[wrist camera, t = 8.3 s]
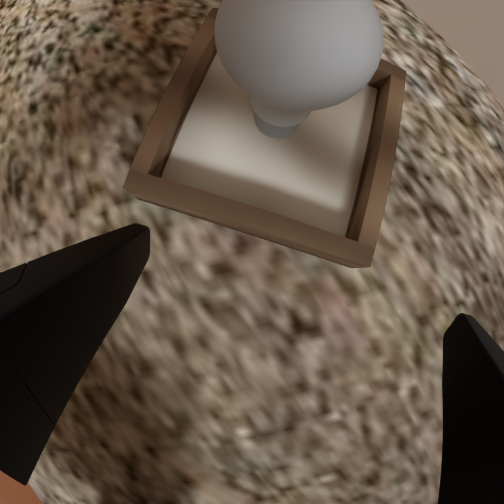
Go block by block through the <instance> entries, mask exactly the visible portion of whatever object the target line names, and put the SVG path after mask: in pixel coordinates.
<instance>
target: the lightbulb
mask: <svg viewBox="0 0 504 504" xmlns="http://www.w3.org/2000/svg"><path fill="white" fill-rule="evenodd" d="M214 36H215V44H216V49H217V53H218V55H219V57H220V60H221V62H222V64H223V66H224V67H225V69H226V71H227V73H228V74H229V76H230V77H231V78H232V79H233V80H234V81H235V82H236V84H238V85H239V86H240V87H241V88H242V89H243V90H244V91H246V92H247V93H248V94H249V95H250V102H251V106H252V108H253V110H254V121H255V124H256V126H257V128H258V129H259V131H260V132H262V133H263V134H264V135H266V136H268V137H271V138H285V137H288V136H290V135H292V134H293V133H294V132H295V131H296V130H297V128H298V127H299V125H300V123H301V122H303V121H304V120H305V119H306V118H307V117H308V116H309V115H310V113H311V112H312V111H316V110H320V109H325V108H328V107H332V106H335V105H338V104H340V103H342V102H344V101H346V100H348V99H350V98H351V97H352V96H354V95H355V94H357V93H358V92H359V91H360V90H361V89H362V88H364V87H365V86H366V85H367V84H368V82H369V81H370V79H371V78H372V76H373V75H374V73H375V71H376V70H377V68H378V65H379V62H380V58H381V54H382V50H383V27H382V24H381V21H380V18H379V15H378V12H377V10H376V8H375V6H374V4H373V3H372V1H371V0H223V1H222V2H221V5H220V7H219V10H218V12H217V16H216V20H215V29H214Z"/></svg>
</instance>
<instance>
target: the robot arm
mask: <svg viewBox="0 0 504 504" xmlns="http://www.w3.org/2000/svg"><path fill="white" fill-rule="evenodd" d="M149 255H150V230H149V228H148V227H147V226H144V225H141V224H137V223H134V224H131V225H128V226H125V227H122V228H119V229H116V230H113V231H110V232H108V233H105V234H102V235H99V236H96V237H93V238H90V239H88V240H85V241H82V242H79V243H77V244H74V245H71V246H68V247H66V248H63V249H60V250H58V251H55V252H52V253H50V254H47V255H45V256H42V257H39V258H37V259H34V260H32V261H29V262H28V263H24V264H21V265H19V266H17V267H14V268H12V269H9V270H6V271H4V272H1V273H0V470H1V471H2V472H4V473H5V474H7V475H8V476H10V477H11V478H13V479H15V480H16V481H18V482H20V483H21V484H23V485H26V484H27V483H28V481H29V479H30V476H31V474H32V472H33V470H34V468H35V466H36V464H37V461H38V459H39V457H40V455H41V453H42V451H43V449H44V447H45V445H46V443H47V441H48V439H49V437H50V435H51V433H52V431H53V429H54V427H55V425H56V423H57V421H58V419H59V417H60V415H61V414H62V412H63V410H64V408H65V406H66V404H67V402H68V401H69V399H70V397H71V395H72V393H73V392H74V390H75V388H76V386H77V384H78V383H79V381H80V379H81V377H82V376H83V374H84V372H85V370H86V369H87V367H88V365H89V363H90V362H91V360H92V358H93V357H94V355H95V353H96V352H97V350H98V348H99V347H100V345H101V343H102V342H103V340H104V338H105V337H106V335H107V333H108V332H109V330H110V328H111V327H112V325H113V324H114V322H115V320H116V319H117V317H118V316H119V314H120V312H121V311H122V309H123V308H124V306H125V304H126V303H127V301H128V299H129V297H130V295H131V293H132V291H133V289H134V287H135V285H136V283H137V281H138V279H139V277H140V275H141V273H142V271H143V269H144V267H145V265H146V263H147V261H148V259H149ZM442 398H443V443H442V464H441V478H440V489H439V498H438V504H504V351H503V350H502V349H501V348H500V347H499V345H498V344H497V343H496V342H495V341H494V340H493V339H492V337H491V336H490V335H489V334H488V333H487V332H486V331H485V330H484V328H483V327H482V326H481V325H480V324H479V323H478V322H477V321H476V320H475V319H474V318H473V317H472V316H471V315H468V314H464V313H460V314H459V315H457V317H456V318H455V319H454V321H453V322H452V324H451V325H450V326H449V328H448V329H447V330H446V332H445V334H444V337H443V372H442Z"/></svg>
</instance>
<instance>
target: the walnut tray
mask: <svg viewBox="0 0 504 504" xmlns="http://www.w3.org/2000/svg"><path fill="white" fill-rule="evenodd" d="M218 10H219V9H217V8H212V10H211V11H210V13H209V14H208V16H207V18H206V19H205V21H204V22H203V24H202V26H201V27H200V29H199V31H198V32H197V34H196V36H195V37H194V39H193V41H192V42H191V44H190V46H189V48H188V49H187V51H186V53H185V55H184V57H183V58H182V60H181V62H180V64H179V66H178V67H177V69H176V71H175V73H174V75H173V77H172V79H171V81H170V83H169V85H168V86H167V88H166V90H165V92H164V94H163V96H162V98H161V100H160V103H159V105H158V107H157V109H156V111H155V113H154V115H153V117H152V119H151V121H150V124H149V126H148V128H147V130H146V133H145V135H144V137H143V139H142V142H141V144H140V146H139V149H138V151H137V153H136V156H135V158H134V160H133V163H132V165H131V168H130V170H129V173H128V175H127V178H126V181H125V183H124V186H123V188H124V189H126V190H127V191H128V192H129V193H131V194H132V195H133V196H134V197H136V198H137V199H139V200H142V201H145V202H148V203H152V204H155V205H158V206H161V207H164V208H168V209H171V210H174V211H177V212H180V213H184V214H187V215H190V216H193V217H196V218H199V219H203V220H206V221H209V222H212V223H215V224H218V225H221V226H225V227H228V228H231V229H234V230H237V231H240V232H243V233H246V234H249V235H252V236H256V237H259V238H262V239H265V240H268V241H271V242H274V243H277V244H280V245H283V246H286V247H289V248H292V249H295V250H298V251H301V252H304V253H307V254H310V255H314V256H317V257H320V258H323V259H326V260H329V261H332V262H335V263H338V264H341V265H343V266H346V267H349V268H364V267H370V266H371V262H372V258H373V255H374V251H375V247H376V243H377V239H378V235H379V231H380V226H381V222H382V218H383V213H384V209H385V204H386V200H387V195H388V190H389V185H390V180H391V175H392V169H393V164H394V158H395V153H396V147H397V140H398V134H399V127H400V120H401V113H402V105H403V97H404V88H405V78H406V71H405V70H403V69H401V68H399V67H397V66H395V65H393V64H391V63H389V62H387V61H384V60H382V59H380V62H379V65H378V68H377V70H376V71H375V73H374V75H373V76H372V78H371V79H370V81H369V82H368V84H367V85H366V86H365V87H364V88H362V89H361V90H360V91H359V92H358V93H357V94H355V95H354V96H352V97H351V98H350V99H348V100H346V101H344V102H342V103H340V104H338V105H335V106H332V107H328V108H325V109H320V110H316V111H312V112H311V113H310V115H309V116H308V117H307V118H306V119H305V120H304V121H303V122H301V123H300V125H299V127H298V128H297V130H296V131H295V132H294V133H293V134H292V135H290V136H288V137H285V138H271V137H268V136H266V135H264V134H263V133H262V132H260V131H259V129H258V128H257V126H256V124H255V121H254V110H253V108H252V106H251V102H250V95H249V94H248V93H247V92H246V91H244V90H243V89H242V88H241V87H240V86H239V85H238V84H236V82H235V81H234V80H233V79H232V78H231V77H230V76H229V74H228V73H227V71H226V69H225V67H224V66H223V64H222V62H221V60H220V57H219V55H218V53H217V49H216V44H215V36H214V29H215V20H216V16H217V12H218Z"/></svg>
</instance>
